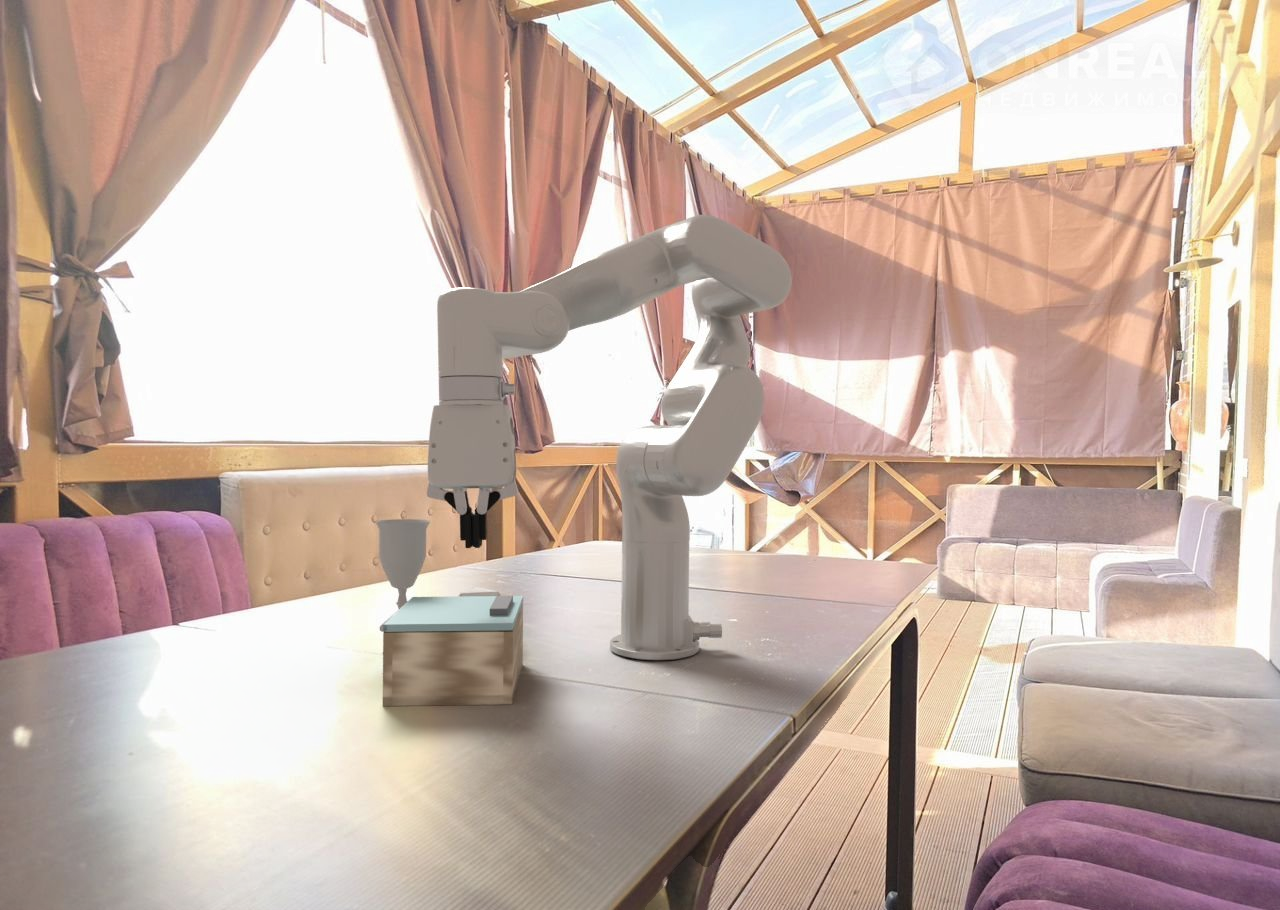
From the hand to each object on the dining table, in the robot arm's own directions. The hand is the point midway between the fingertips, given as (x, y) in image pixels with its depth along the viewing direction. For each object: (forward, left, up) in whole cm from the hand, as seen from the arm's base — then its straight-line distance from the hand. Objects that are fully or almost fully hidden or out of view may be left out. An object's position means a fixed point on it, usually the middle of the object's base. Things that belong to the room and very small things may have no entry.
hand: (473, 546), depth 95 cm
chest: (+2, 0, -16) cm, 17 cm away
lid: (+2, 0, -8) cm, 8 cm away
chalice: (+12, -15, -17) cm, 25 cm away
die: (+2, -18, -17) cm, 24 cm away
